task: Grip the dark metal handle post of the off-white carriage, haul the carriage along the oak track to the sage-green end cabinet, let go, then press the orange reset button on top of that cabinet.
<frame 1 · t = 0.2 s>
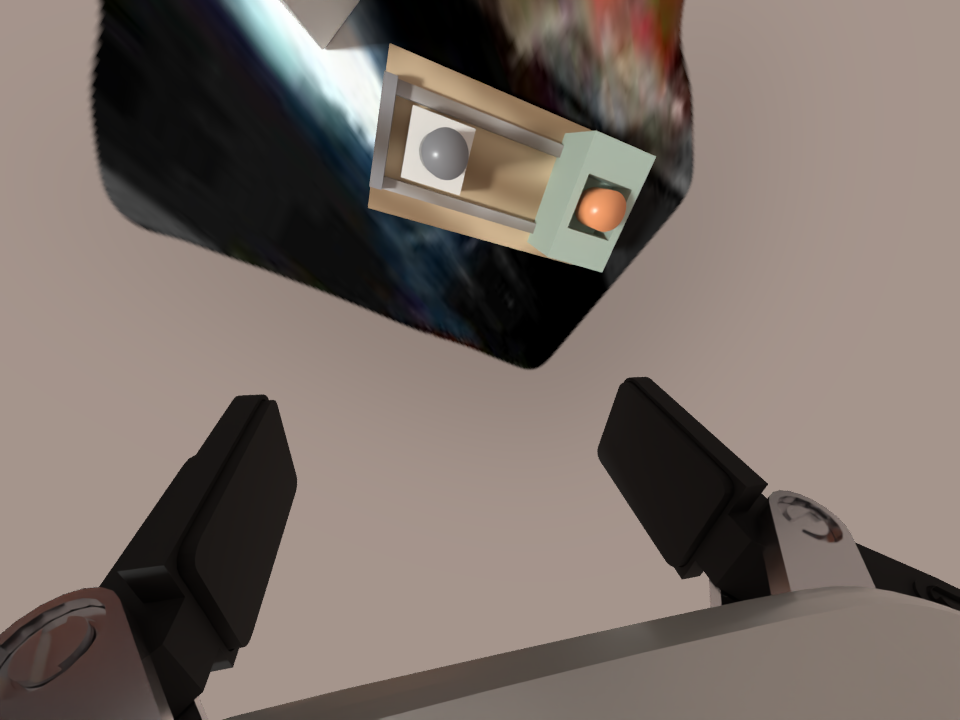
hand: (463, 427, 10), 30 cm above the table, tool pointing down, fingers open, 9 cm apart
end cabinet: (564, 198, 36), resting on track
track: (494, 174, 33), on the table
carriage: (439, 153, 26), point 6 cm above the table, slide at 1.9 cm
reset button: (599, 209, 30), point 8 cm above the table, slide at 0.0 cm
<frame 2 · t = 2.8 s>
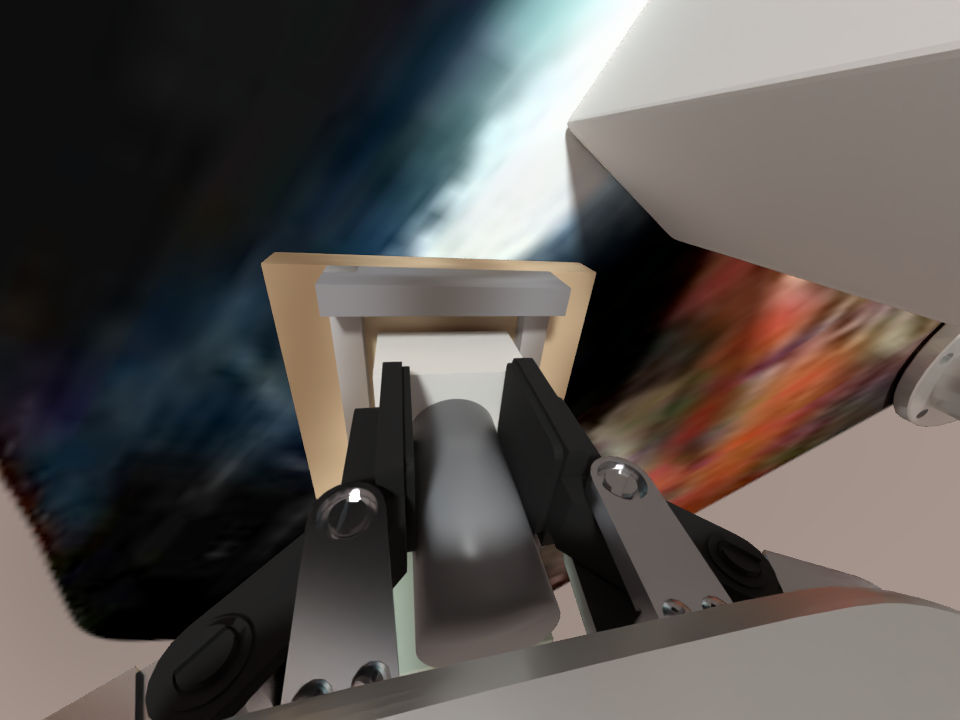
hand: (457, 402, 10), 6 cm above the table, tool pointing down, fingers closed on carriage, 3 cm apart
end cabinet: (434, 542, 23), resting on track
milk carton: (687, 101, 13), on the table
track: (436, 457, 19), on the table
carriage: (458, 466, 11), point 6 cm above the table, slide at 1.9 cm, touching gripper
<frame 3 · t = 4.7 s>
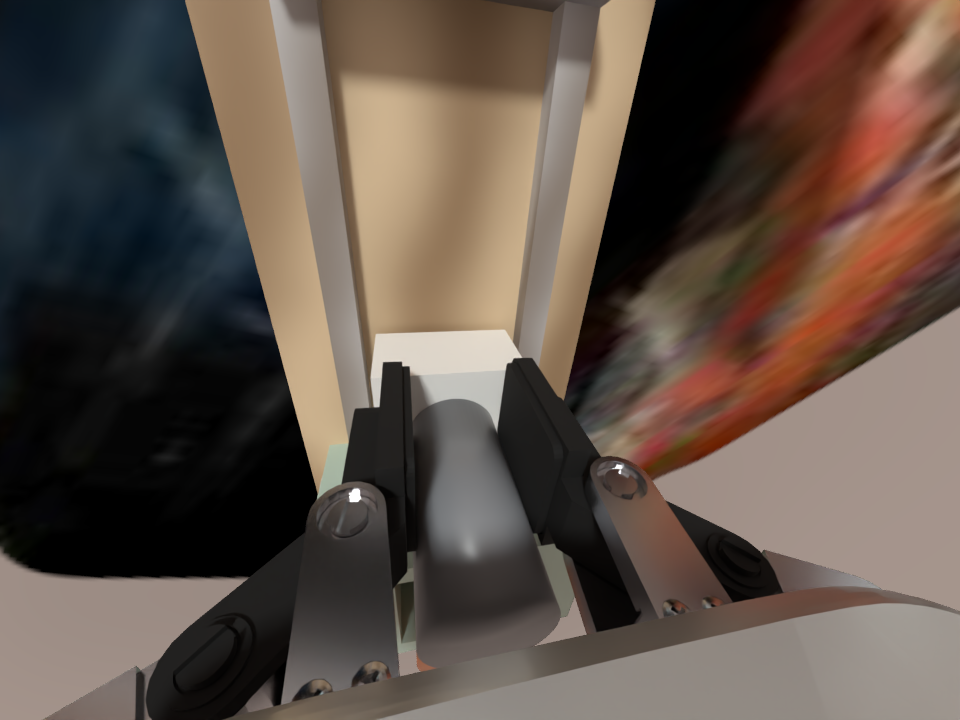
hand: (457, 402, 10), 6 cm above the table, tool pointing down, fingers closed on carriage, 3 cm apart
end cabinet: (438, 456, 19), resting on track
track: (438, 325, 15), on the table
carriage: (458, 465, 11), point 6 cm above the table, slide at 9.9 cm, touching gripper
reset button: (458, 604, 13), point 8 cm above the table, slide at 0.0 cm
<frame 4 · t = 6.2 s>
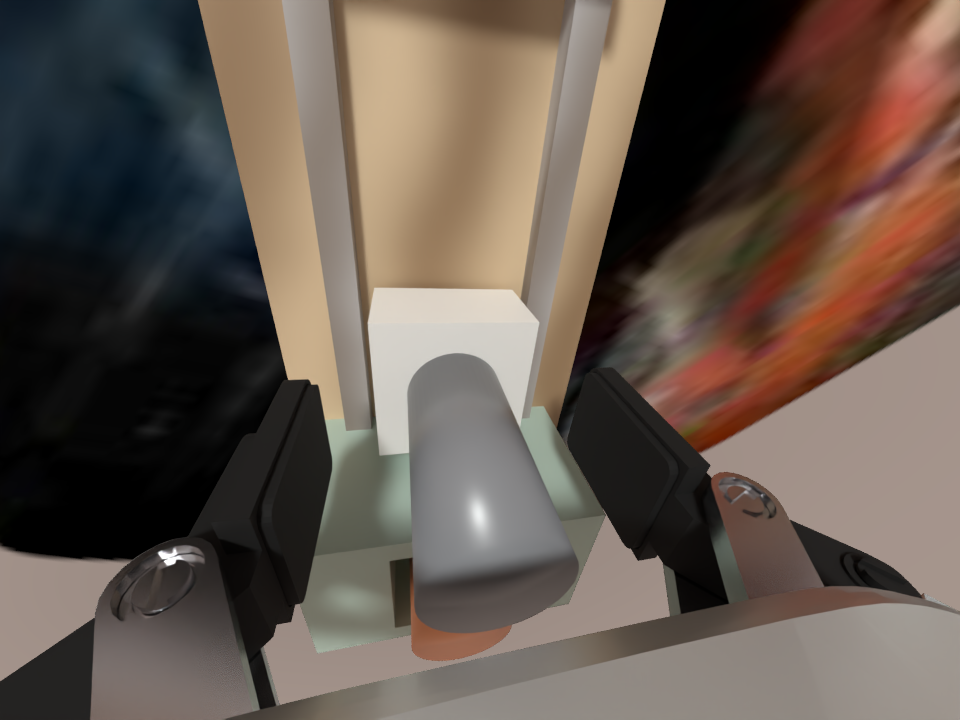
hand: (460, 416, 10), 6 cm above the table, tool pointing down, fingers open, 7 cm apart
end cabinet: (436, 438, 18), resting on track
track: (440, 296, 14), on the table
carriage: (461, 423, 10), point 6 cm above the table, slide at 9.5 cm
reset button: (456, 586, 12), point 8 cm above the table, slide at 0.0 cm
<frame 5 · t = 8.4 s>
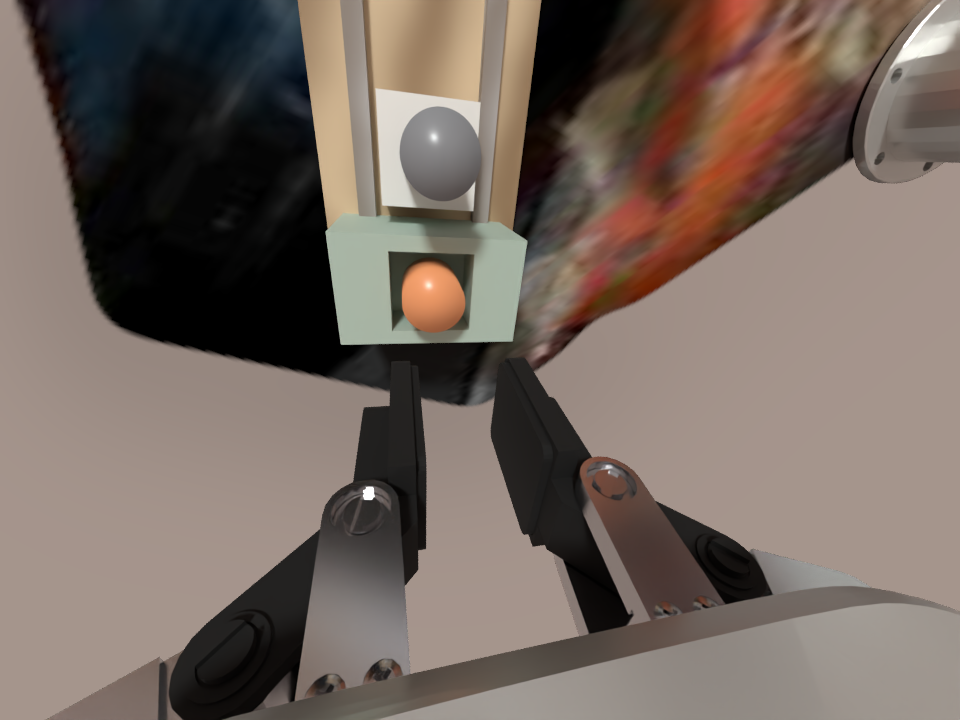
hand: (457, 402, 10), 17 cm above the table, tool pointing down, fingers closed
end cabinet: (423, 258, 25), resting on track
track: (423, 126, 21), on the table
carriage: (431, 156, 16), point 6 cm above the table, slide at 9.5 cm
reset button: (431, 294, 19), point 8 cm above the table, slide at 0.0 cm
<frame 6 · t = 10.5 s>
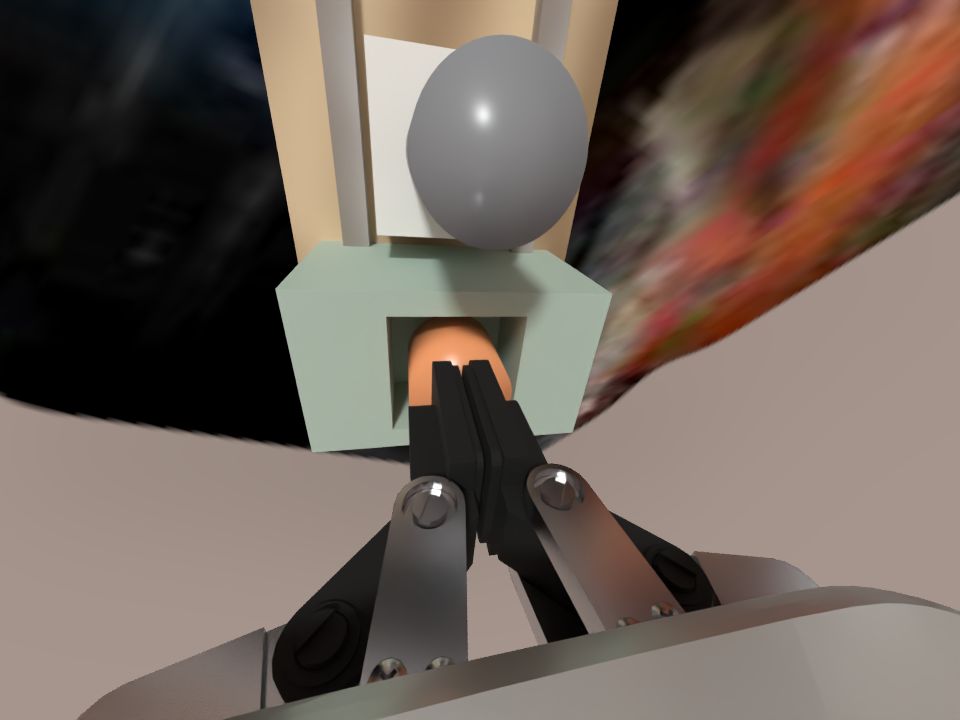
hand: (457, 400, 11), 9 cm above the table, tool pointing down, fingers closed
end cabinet: (437, 298, 18), resting on track
track: (441, 111, 14), on the table
carriage: (461, 155, 9), point 6 cm above the table, slide at 9.5 cm
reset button: (455, 372, 12), point 7 cm above the table, slide at 0.3 cm, touching gripper
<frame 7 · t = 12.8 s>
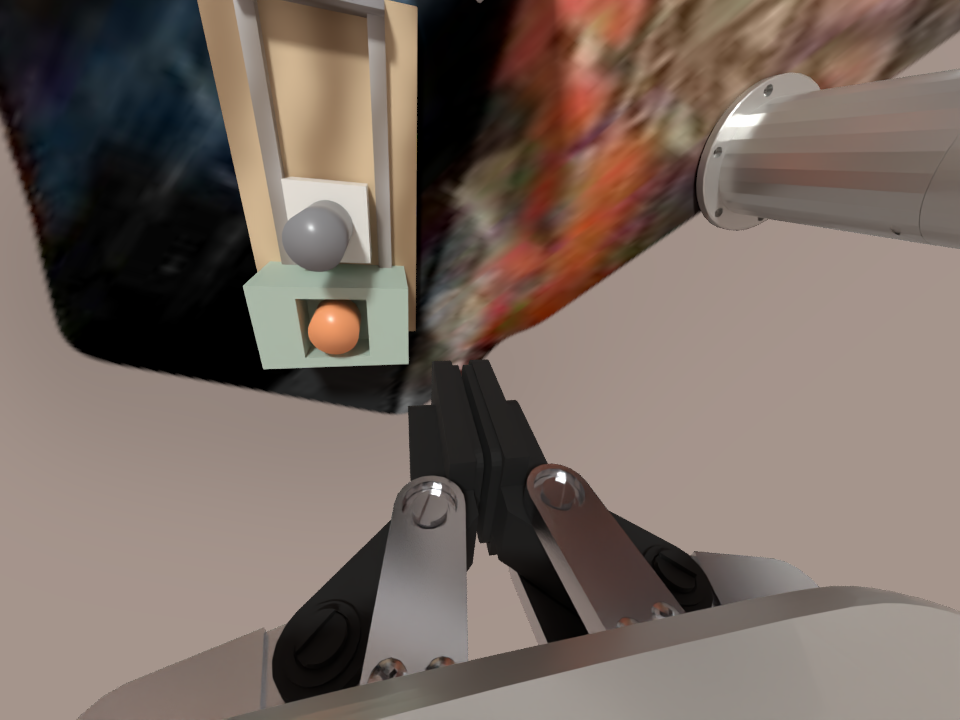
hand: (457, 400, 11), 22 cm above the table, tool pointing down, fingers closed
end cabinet: (345, 293, 30), resting on track
track: (335, 193, 26), on the table
carriage: (326, 228, 22), point 6 cm above the table, slide at 9.5 cm
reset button: (336, 324, 24), point 7 cm above the table, slide at 0.8 cm
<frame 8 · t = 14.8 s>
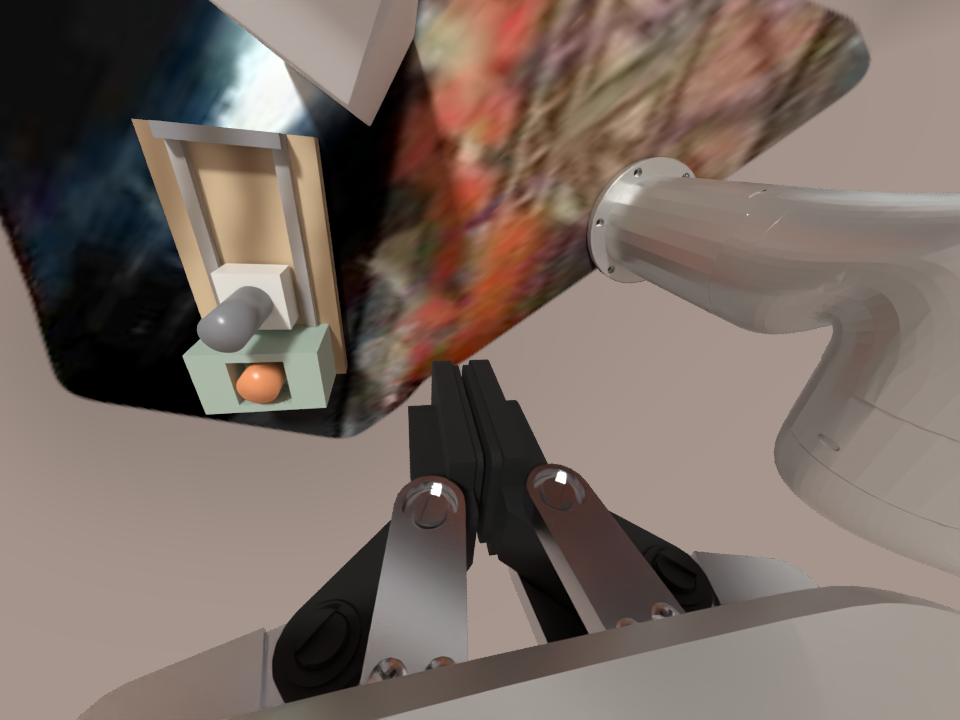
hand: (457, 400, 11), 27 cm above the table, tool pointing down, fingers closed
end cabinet: (284, 344, 36), resting on track
milk carton: (348, 48, 26), on the table
track: (267, 269, 32), on the table
carriage: (246, 309, 28), point 6 cm above the table, slide at 9.5 cm
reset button: (263, 378, 31), point 7 cm above the table, slide at 0.8 cm
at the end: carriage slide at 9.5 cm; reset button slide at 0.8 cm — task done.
